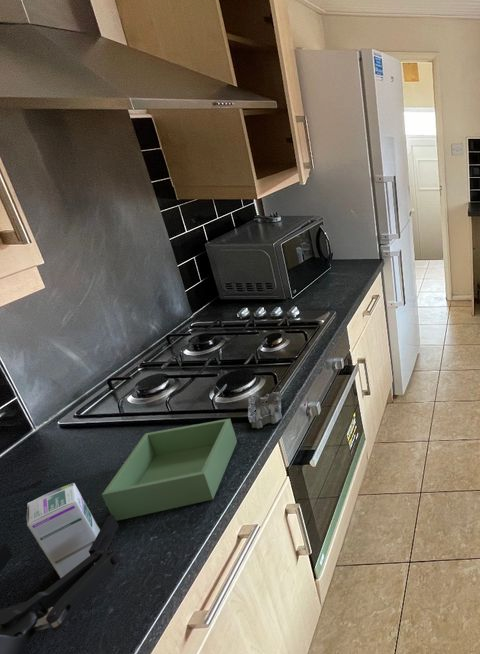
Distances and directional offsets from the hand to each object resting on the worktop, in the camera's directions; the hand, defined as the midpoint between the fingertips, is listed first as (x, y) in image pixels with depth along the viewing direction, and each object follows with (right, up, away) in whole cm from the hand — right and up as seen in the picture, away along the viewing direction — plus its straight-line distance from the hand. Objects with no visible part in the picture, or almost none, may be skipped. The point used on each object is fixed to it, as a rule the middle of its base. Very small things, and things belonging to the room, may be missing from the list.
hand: (61, 534), depth 69 cm
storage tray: (+3, -1, +21) cm, 21 cm away
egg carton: (+11, +6, +40) cm, 42 cm away
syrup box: (-1, -8, +4) cm, 9 cm away
